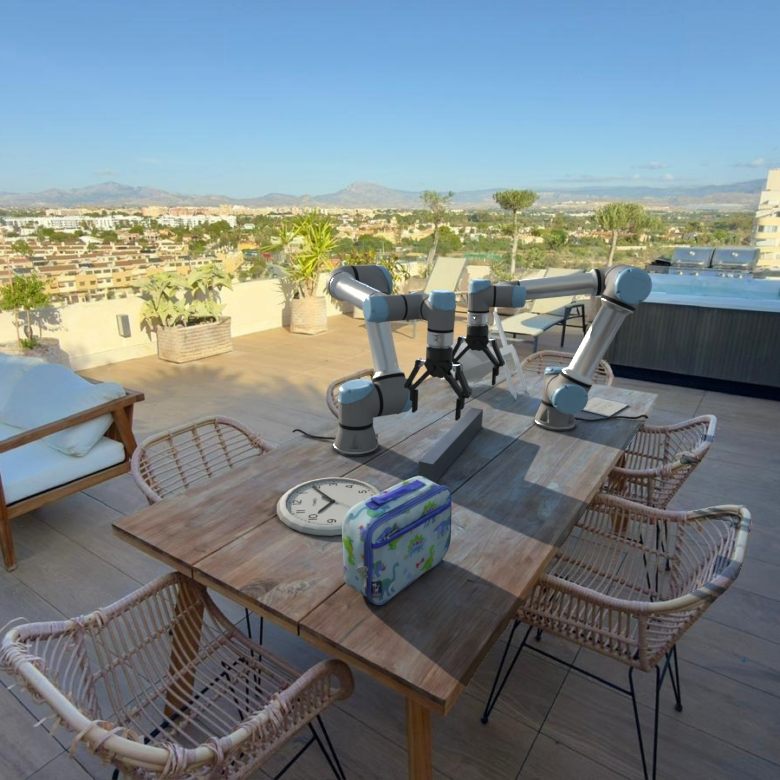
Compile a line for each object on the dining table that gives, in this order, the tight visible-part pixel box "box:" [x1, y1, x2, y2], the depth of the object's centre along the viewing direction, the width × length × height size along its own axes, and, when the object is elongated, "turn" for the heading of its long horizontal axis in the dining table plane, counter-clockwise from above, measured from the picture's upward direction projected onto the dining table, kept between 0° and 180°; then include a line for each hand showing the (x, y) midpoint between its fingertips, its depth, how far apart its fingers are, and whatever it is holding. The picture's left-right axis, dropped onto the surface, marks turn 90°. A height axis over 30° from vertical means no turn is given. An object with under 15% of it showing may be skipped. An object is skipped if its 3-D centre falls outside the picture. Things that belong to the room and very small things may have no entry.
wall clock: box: [276, 476, 382, 537], centre depth 142 cm, size 30×2×30 cm
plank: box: [417, 407, 484, 483], centre depth 177 cm, size 54×4×7 cm, turn 155°
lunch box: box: [341, 475, 453, 606], centre depth 111 cm, size 26×11×21 cm, turn 134°
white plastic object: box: [440, 310, 531, 400], centre depth 245 cm, size 37×45×31 cm
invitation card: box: [582, 396, 629, 417], centre depth 226 cm, size 21×1×15 cm
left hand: (435, 415), depth 156 cm, fingers open, 13 cm apart
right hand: (475, 382), depth 190 cm, fingers open, 13 cm apart
